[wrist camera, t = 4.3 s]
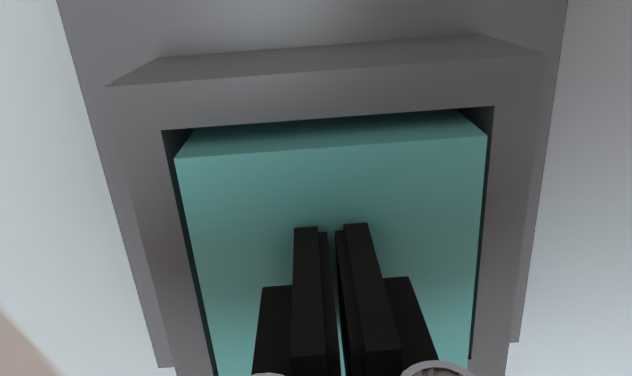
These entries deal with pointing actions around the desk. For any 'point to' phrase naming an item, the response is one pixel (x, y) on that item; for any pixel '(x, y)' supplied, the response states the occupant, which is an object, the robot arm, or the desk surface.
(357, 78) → the button housing
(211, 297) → the button cap
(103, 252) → the desk surface
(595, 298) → the desk surface
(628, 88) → the desk surface
